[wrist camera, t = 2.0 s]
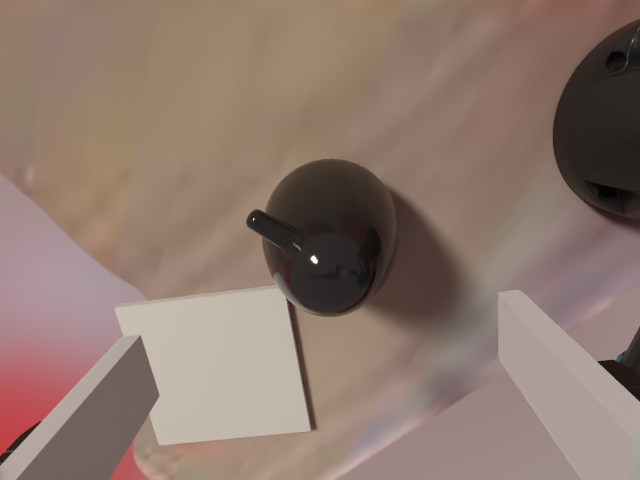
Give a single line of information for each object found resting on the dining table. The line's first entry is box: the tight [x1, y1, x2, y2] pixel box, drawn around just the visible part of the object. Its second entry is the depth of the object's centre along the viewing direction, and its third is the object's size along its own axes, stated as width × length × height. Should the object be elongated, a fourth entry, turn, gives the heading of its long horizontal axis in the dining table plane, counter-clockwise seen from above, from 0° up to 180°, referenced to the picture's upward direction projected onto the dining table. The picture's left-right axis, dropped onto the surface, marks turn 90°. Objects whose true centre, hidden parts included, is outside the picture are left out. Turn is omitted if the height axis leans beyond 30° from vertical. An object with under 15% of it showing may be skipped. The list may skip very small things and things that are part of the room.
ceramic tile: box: [114, 285, 311, 445], centre depth 39 cm, size 16×16×1 cm
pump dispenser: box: [246, 159, 399, 317], centre depth 27 cm, size 10×10×15 cm
